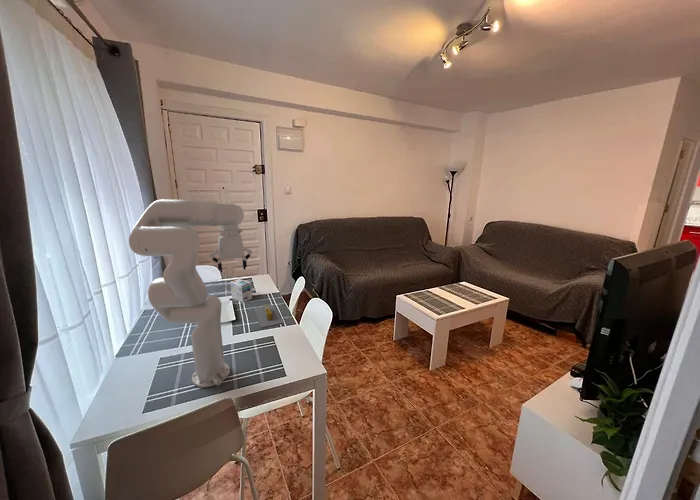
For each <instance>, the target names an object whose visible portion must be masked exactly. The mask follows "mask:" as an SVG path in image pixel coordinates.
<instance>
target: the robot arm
mask: <svg viewBox="0 0 700 500" xmlns="http://www.w3.org/2000/svg"><path fill="white" fill-rule="evenodd" d="M244 217H245V214H244V210H243V208H242V207H241V206H240V205H238V204H237V205H236V204H234V203H218V202H212V201H210V202H209V201H200V200H194V199H174V198H173V199H172V198H171V199H170V198H168V199H167V198H164V199H163V198H161V199H157V200H155V201H153V202H152V203H151V204H149V206H148V207H147V208H146V209H145V211H143V213H142V214H141V216H140V217H139V219H138V220H137V222H136V223H135V225H134V226H133V228H132V229H131V231H130V233H129V237H128V245H129V248H130V249H131V251H132V252H133V253H134V254H135V255H139V256H143V257H172V260H171V261H170V262H169V263H168V264H167V265H166V267H165V269H164V271H163V272H162V273H163V274H162V276H160V277H158V278H155V279H154V280H152V282H151V283H150V285H149V286H148V291H147V298H148V301H149V304H150V305H151V306H152V307H153V309H154V310H155V311H156V312H157V313H158V314H159V315H160V316H161V317H162V319H164V320H165V321H166V322H167V323H170V324H195V325H196V326H195V328H194V329H193V330H192V332H191V335H190V342H191V346H192V355H193V360H194V361H193V362H194V369H195V371H194V372H193V374H192V375H191V383H192V384H193V385H194V386H195V387H197V388H211V387H213V386H221V384H222V382H223V381H225V380H226V379H227V378H228V376H229V375H230V372H231V368H230V365H229V364H228V363H226V362H225V356H224V354H225V353H224V345H223V337H222V325H221V318H222V317H221V315H222V301H221V299H220V298H219V297H218V296H215V295H212V294H208V288H207V287H206V284H205V282H204V281H203V279H202V277H201V276H200V274H199V272H198V270H197V268H196V267H197V262H198V257H199V251H200V245H201V239H200V235H199V233H198V232H197V231H196V230H195V229H194V228H197V227H198V228H199V227H217V226H219V236H218V237H217V247H218V249H216V250H214V251H212V252H210V253H209V257H210V258H211V260H212V261H213V262H215V263H216V264H217V270H218V271H220V272H219V273H223V266H222V265H223V264H222V261H223V260H231V259H241V260H242V269H243V270H244V271H245V270H247V269H246V268H247V267H248V265H247V261H248V259H249V258H250V257H251V255H252V254H253V253H252V252H253V250H252V249H250V248H247V247H245V246H244V244H243V242H244V241H243V238H242V235H241V234H240V233H243V229H242V228H239V225H241V224H242V223H243V221H244ZM245 252H247V254H246V255H245ZM217 254H218V258H217V257H215V255H217Z"/></svg>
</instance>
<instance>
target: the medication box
mask: <svg viewBox="0 0 700 500" xmlns="http://www.w3.org/2000/svg"><path fill="white" fill-rule="evenodd" d="M269 306H270V305H269V303H263V304H262V307H263V309H264V312H265V315H266V317H267V320H268V321H269V320H273V317H272V312H271V310H270V308H269Z"/></svg>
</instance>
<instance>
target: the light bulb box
mask: <svg viewBox="0 0 700 500" xmlns="http://www.w3.org/2000/svg"><path fill="white" fill-rule="evenodd" d="M251 284H252V283H251V281H247V280H243V279H240V278H238V279H235V280H231V281H230V290H231V291H230V293H231V298H232V299H233V300H236V301H238V302H241V303H245V302H248V301H250V300H252V299H253V294H252V285H251Z"/></svg>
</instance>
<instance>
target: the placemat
mask: <svg viewBox="0 0 700 500" xmlns="http://www.w3.org/2000/svg"><path fill="white" fill-rule="evenodd" d="M269 308H270V310H271V312H272V317H273V320H269V321H268V320H267V317H266V315H265V312H264V309H263V306H260V307H254V308H253V311H254V314H255V315H256V318H257V321H258V324H259V327H260V329H264V328H271V327H273V326H279V324H280V325H283V324H284V320H283V319H282V317H281V315H280V312H279V311H278V309H277V307H276V306H275V304H271V305H269Z"/></svg>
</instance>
